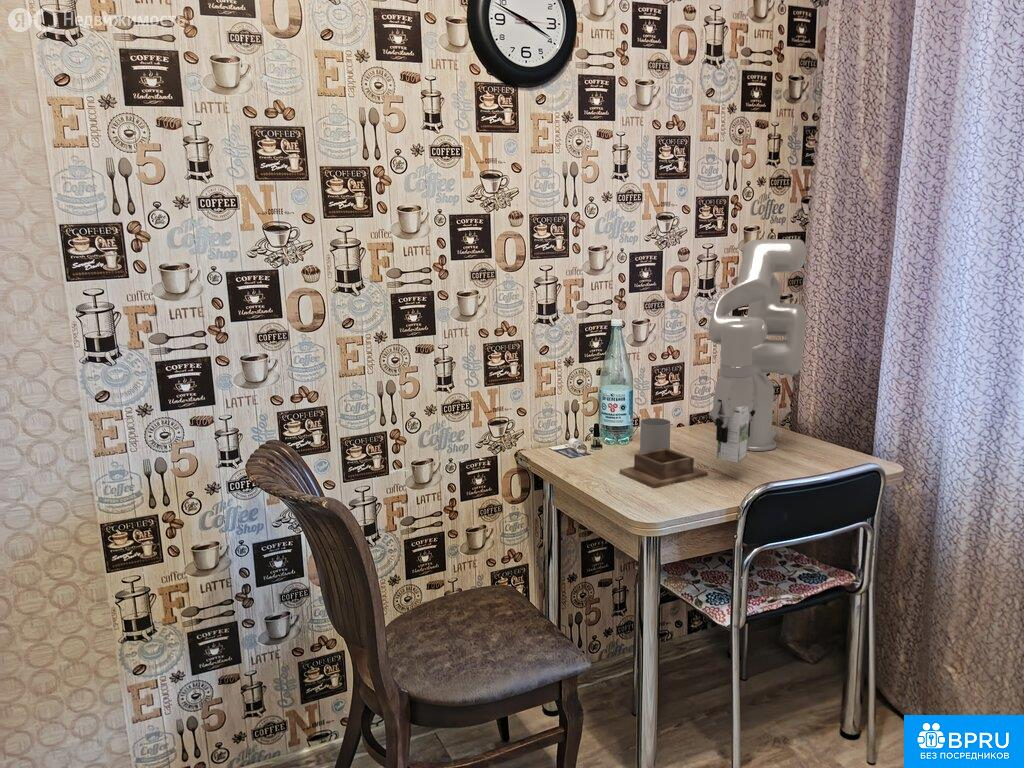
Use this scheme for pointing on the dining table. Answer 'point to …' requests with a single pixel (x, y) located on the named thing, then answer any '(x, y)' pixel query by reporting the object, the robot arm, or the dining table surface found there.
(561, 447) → the dining table surface
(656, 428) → the cup
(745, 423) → the syrup box
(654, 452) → the box
